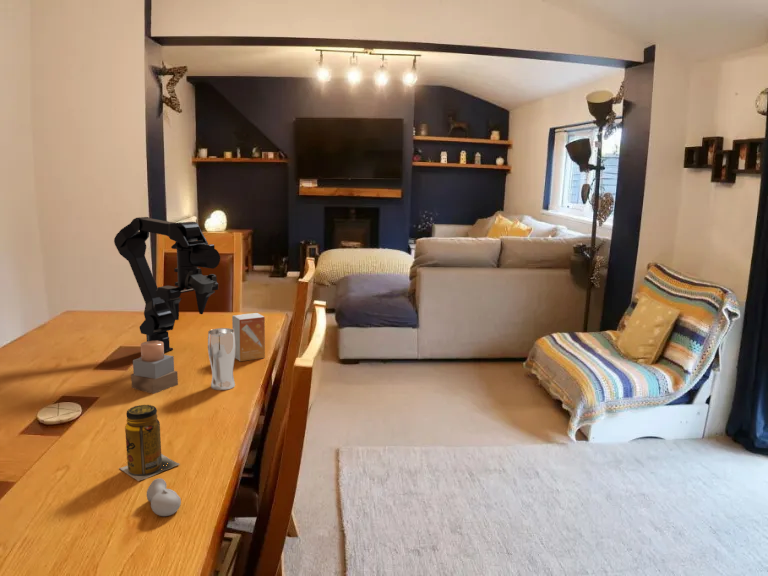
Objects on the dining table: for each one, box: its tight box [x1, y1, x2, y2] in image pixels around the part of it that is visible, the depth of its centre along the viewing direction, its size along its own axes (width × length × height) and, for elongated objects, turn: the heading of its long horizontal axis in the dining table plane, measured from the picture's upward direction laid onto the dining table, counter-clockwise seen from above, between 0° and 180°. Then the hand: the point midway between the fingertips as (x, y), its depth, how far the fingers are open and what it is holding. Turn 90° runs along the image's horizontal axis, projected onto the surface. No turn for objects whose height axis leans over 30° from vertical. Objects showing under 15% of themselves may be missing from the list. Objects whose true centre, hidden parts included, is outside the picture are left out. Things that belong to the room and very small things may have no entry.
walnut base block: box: [130, 370, 179, 395], centre depth 156 cm, size 8×8×4 cm
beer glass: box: [207, 327, 236, 391], centre depth 156 cm, size 7×7×15 cm
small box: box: [231, 312, 266, 362], centre depth 181 cm, size 8×6×13 cm
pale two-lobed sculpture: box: [146, 477, 182, 517], centre depth 100 cm, size 4×8×5 cm
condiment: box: [118, 404, 180, 482], centre depth 113 cm, size 7×8×12 cm
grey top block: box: [132, 354, 175, 379], centre depth 155 cm, size 7×7×4 cm
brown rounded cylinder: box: [140, 340, 165, 362], centre depth 154 cm, size 6×6×4 cm
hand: (189, 316), depth 178 cm, fingers open, 9 cm apart
